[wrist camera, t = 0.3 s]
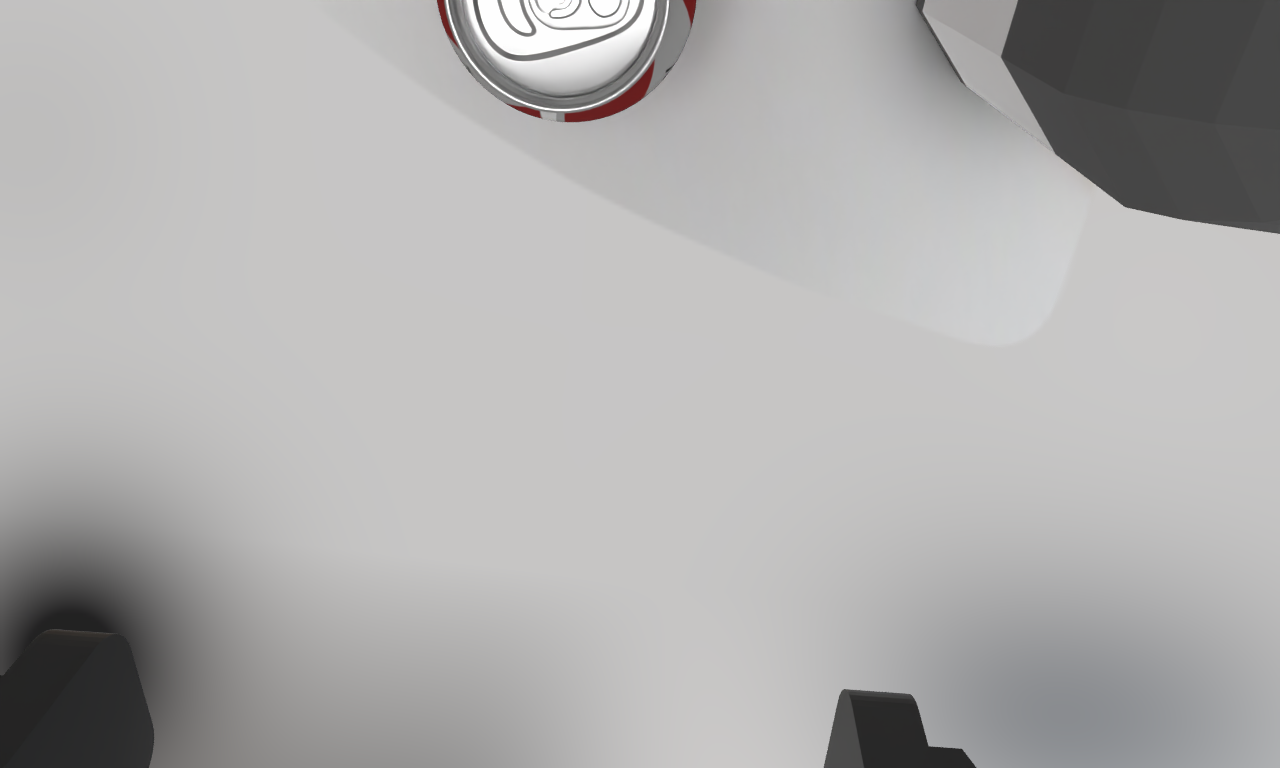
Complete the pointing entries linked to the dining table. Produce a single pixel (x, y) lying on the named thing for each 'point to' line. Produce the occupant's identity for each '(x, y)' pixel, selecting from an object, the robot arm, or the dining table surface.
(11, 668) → the robot arm
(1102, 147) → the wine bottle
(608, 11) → the soda can
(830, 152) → the dining table surface
